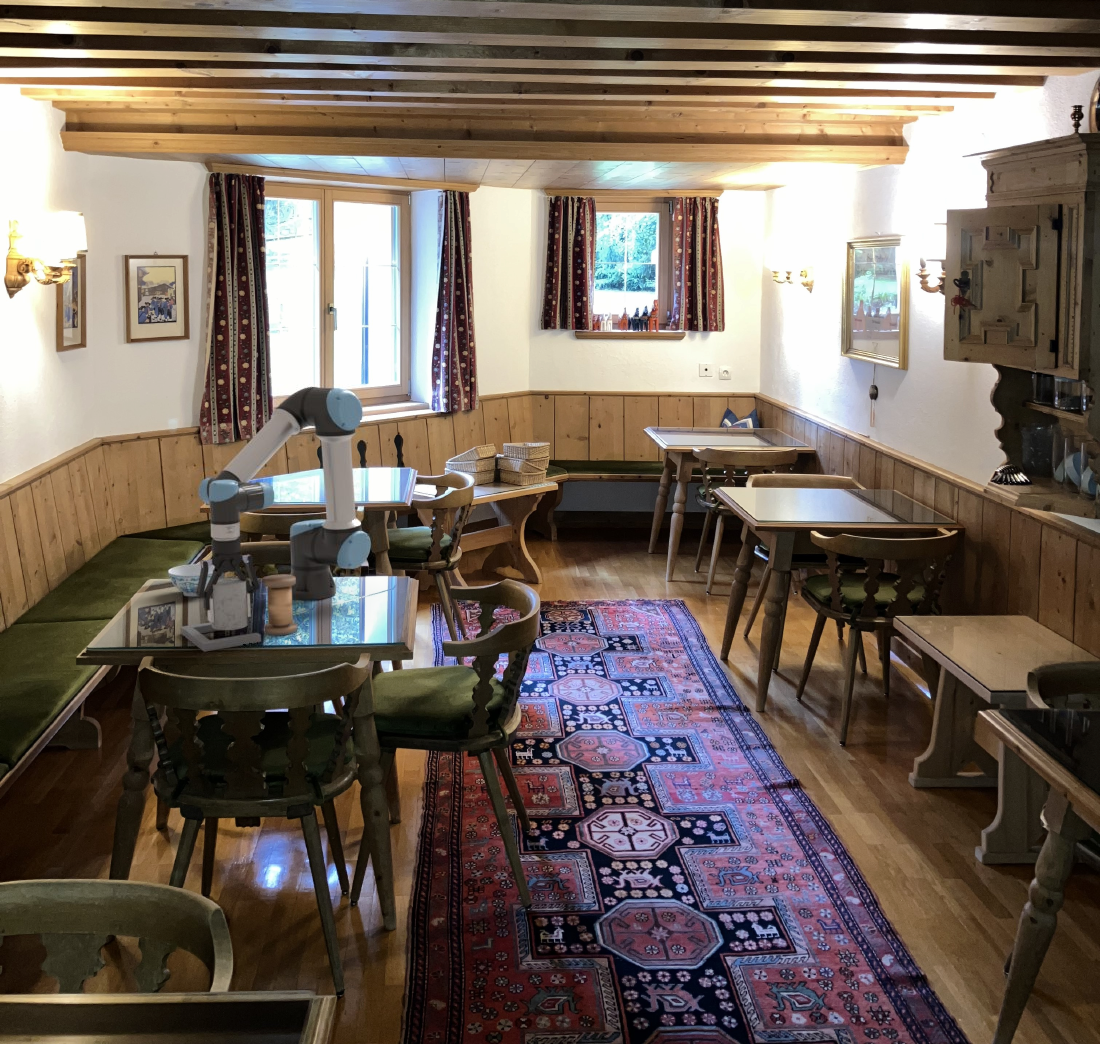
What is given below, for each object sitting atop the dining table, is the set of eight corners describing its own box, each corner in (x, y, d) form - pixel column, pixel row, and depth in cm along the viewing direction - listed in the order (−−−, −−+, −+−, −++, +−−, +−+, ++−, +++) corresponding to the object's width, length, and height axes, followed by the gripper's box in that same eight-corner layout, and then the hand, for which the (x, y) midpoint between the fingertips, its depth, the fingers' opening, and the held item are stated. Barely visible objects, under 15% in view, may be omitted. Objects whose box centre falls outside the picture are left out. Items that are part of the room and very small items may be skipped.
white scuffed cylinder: (255, 623, 319) (253, 579, 316) (232, 632, 310) (230, 587, 308) (227, 618, 322) (225, 575, 320) (204, 627, 314) (201, 583, 312)
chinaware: (200, 602, 351) (198, 577, 349) (159, 597, 356) (157, 572, 355) (229, 590, 365) (228, 566, 363) (190, 585, 370) (188, 562, 368)
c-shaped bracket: (181, 633, 319) (180, 626, 318) (235, 625, 327) (235, 618, 327) (204, 651, 303) (203, 644, 303) (261, 642, 312) (260, 634, 312)
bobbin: (259, 629, 324) (257, 577, 321) (289, 624, 329) (288, 572, 326) (271, 637, 316) (269, 583, 314) (302, 632, 322) (300, 579, 319)
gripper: (189, 545, 302) (193, 627, 307) (270, 535, 315) (273, 615, 319) (180, 540, 308) (184, 621, 313) (260, 531, 321) (263, 609, 325)
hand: (229, 618), depth 316 cm, fingers closed on white scuffed cylinder, 9 cm apart
